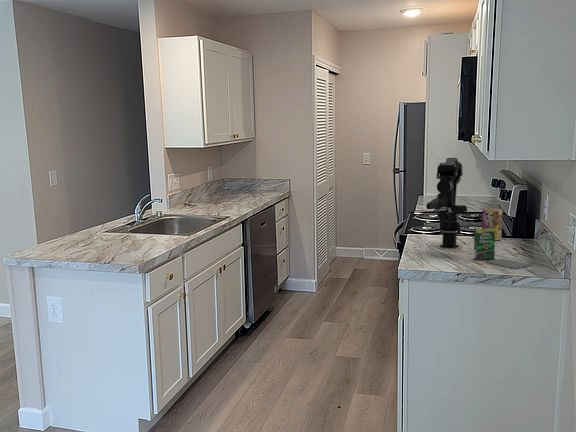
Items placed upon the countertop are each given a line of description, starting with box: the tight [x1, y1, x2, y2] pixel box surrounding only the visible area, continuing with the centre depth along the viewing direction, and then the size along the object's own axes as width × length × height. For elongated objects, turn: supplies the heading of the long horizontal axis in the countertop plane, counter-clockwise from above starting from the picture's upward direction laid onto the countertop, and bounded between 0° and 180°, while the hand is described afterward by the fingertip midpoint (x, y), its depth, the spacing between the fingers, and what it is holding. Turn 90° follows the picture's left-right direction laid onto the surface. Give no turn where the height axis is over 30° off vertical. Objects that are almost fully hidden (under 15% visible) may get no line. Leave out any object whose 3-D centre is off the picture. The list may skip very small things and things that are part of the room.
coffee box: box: [473, 227, 496, 261], centre depth 226 cm, size 8×3×13 cm, turn 90°
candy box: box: [481, 208, 503, 241], centre depth 269 cm, size 9×4×15 cm, turn 39°
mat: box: [485, 258, 533, 270], centre depth 217 cm, size 14×10×1 cm
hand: (445, 226), depth 238 cm, fingers open, 3 cm apart
